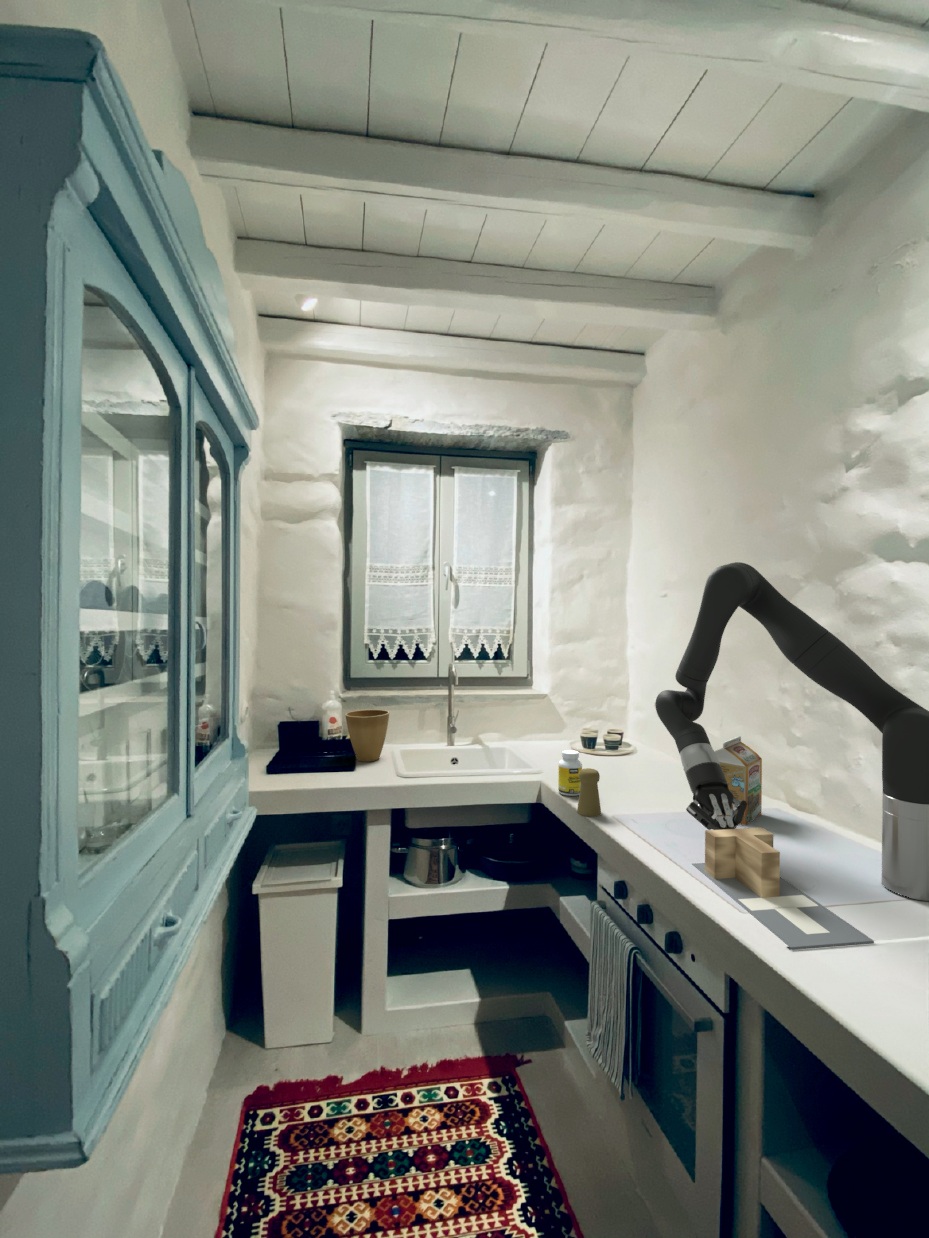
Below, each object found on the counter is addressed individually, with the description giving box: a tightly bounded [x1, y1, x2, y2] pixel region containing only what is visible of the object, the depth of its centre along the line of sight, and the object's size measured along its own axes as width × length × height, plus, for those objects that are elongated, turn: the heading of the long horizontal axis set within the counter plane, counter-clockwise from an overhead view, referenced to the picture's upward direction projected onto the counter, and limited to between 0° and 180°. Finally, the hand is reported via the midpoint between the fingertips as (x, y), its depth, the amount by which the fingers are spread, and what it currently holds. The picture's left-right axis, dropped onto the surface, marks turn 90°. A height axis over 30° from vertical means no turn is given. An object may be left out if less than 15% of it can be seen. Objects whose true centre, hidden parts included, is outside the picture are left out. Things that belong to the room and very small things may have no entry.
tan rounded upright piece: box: [576, 767, 602, 818], centre depth 152 cm, size 6×6×11 cm
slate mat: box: [691, 862, 875, 951], centre depth 107 cm, size 14×30×1 cm, turn 7°
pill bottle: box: [558, 749, 583, 797], centre depth 168 cm, size 6×6×12 cm
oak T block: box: [704, 827, 781, 898], centre depth 113 cm, size 12×12×8 cm
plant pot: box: [345, 709, 390, 763], centre depth 206 cm, size 15×15×16 cm
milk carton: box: [714, 735, 763, 826], centre depth 151 cm, size 11×11×19 cm
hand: (732, 848), depth 119 cm, fingers closed
